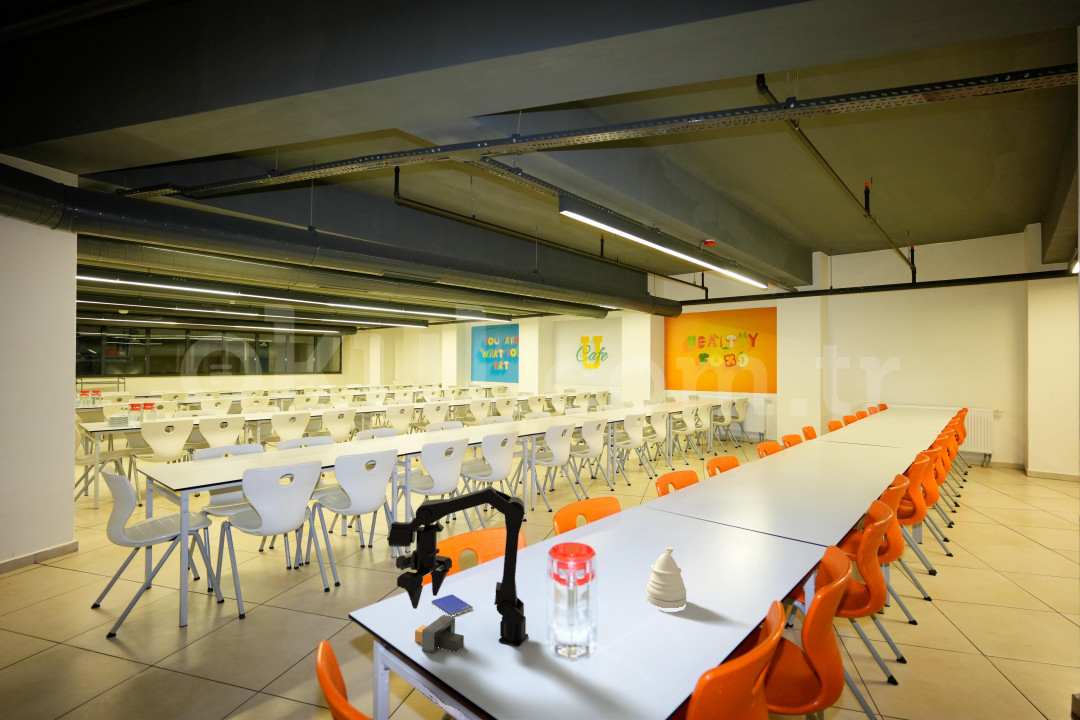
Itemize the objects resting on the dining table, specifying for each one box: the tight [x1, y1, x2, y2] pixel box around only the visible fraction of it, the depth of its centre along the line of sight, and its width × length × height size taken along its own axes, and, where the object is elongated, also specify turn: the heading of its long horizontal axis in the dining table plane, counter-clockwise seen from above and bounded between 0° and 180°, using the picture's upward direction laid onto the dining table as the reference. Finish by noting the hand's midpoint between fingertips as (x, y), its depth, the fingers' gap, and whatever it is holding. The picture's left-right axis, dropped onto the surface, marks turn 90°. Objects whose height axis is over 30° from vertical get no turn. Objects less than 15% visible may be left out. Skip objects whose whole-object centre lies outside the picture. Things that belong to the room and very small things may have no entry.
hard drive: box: [431, 594, 474, 616], centre depth 163 cm, size 2×8×12 cm
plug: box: [414, 624, 465, 653], centre depth 140 cm, size 14×4×3 cm, turn 66°
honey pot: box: [646, 546, 687, 608], centre depth 167 cm, size 13×13×18 cm
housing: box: [421, 614, 456, 655], centre depth 140 cm, size 4×10×6 cm, turn 156°
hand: (425, 601), depth 143 cm, fingers open, 9 cm apart
